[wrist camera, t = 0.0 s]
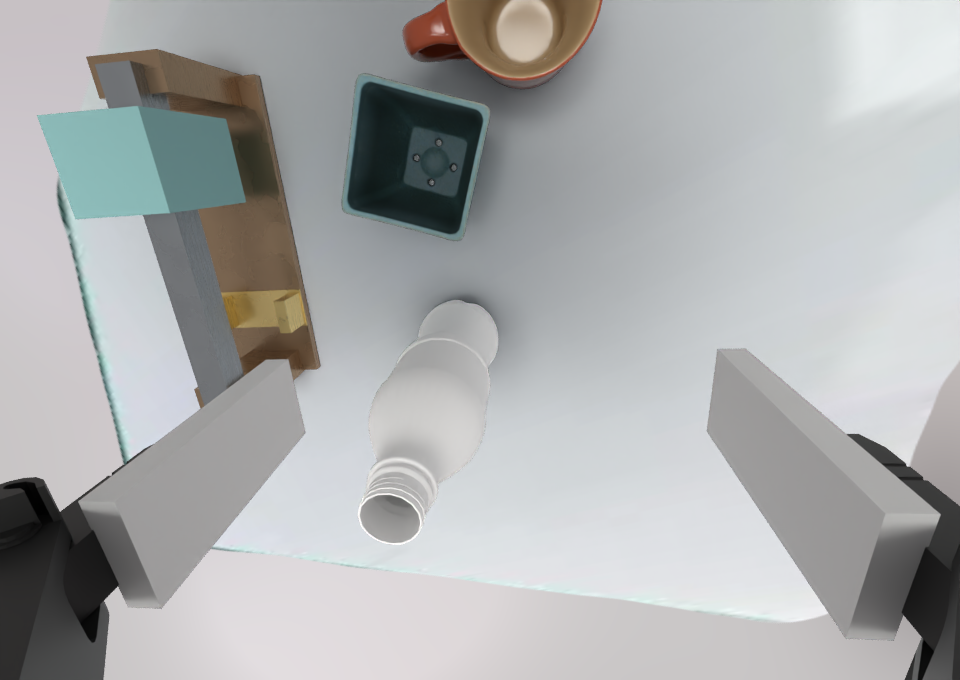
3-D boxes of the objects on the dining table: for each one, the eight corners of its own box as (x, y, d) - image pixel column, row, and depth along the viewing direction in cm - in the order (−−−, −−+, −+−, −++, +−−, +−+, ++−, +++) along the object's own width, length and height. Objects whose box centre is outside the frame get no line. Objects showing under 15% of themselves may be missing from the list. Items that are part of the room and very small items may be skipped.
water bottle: (410, 324, 44) (280, 506, 21) (465, 277, 42) (388, 421, 18) (460, 376, 45) (390, 600, 22) (515, 334, 43) (502, 533, 20)
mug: (571, -52, 32) (589, -142, 23) (592, 83, 35) (616, 54, 26) (412, 4, 34) (369, -57, 25) (444, 127, 37) (416, 115, 28)
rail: (169, 82, 38) (50, 55, 29) (259, 73, 37) (167, 42, 28) (247, 369, 47) (178, 420, 38) (320, 367, 46) (268, 420, 37)
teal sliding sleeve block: (145, 125, 35) (36, 115, 27) (226, 118, 34) (137, 105, 26) (170, 207, 37) (75, 219, 29) (246, 202, 36) (170, 213, 28)
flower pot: (500, 118, 37) (492, 105, 28) (475, 227, 40) (462, 243, 32) (394, 91, 37) (356, 70, 28) (378, 202, 40) (339, 212, 32)
